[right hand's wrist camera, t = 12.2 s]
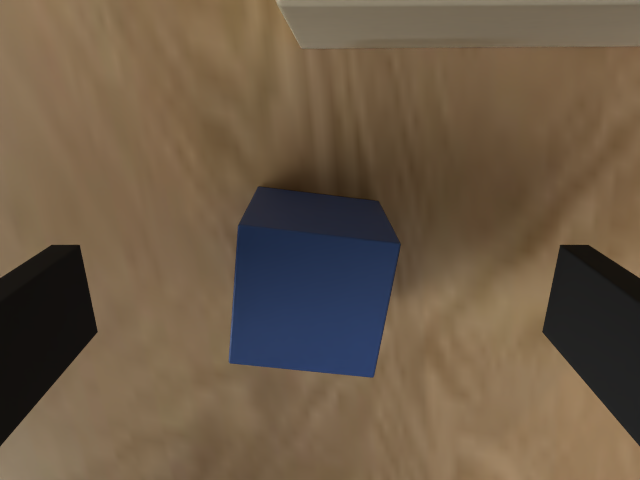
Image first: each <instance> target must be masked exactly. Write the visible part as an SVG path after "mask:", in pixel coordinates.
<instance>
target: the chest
mask: <svg viewBox="0 0 640 480" xmlns="http://www.w3.org/2000/svg"><path fill="white" fill-rule="evenodd" d="M276 3H277V5H278V7H279V9H280V11H281V12H282V14H283V16H284V18H285V20H286V22H287V23H288V25H289V27H290V29H291V31H292V33H293V34H294V36H295V38H296V40H297V42H298V44H299V45H300V47H301V48H302V49H341V48H476V47H611V46H640V0H276Z"/></svg>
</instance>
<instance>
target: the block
mask: <svg viewBox="0 0 640 480" xmlns="http://www.w3.org/2000/svg"><path fill="white" fill-rule="evenodd" d="M400 246H401V244H400V242H399V240H398V238H397V236H396V234H395V232H394V230H393V228H392V226H391V224H390V222H389V220H388V218H387V216H386V214H385V212H384V210H383V209H382V207H381V205H380V203H379V201H373V200H365V199H357V198H349V197H340V196H332V195H324V194H316V193H308V192H299V191H291V190H283V189H275V188H267V187H258V188H257V190H256V192H255V194H254V196H253V198H252V200H251V202H250V203H249V205H248V207H247V209H246V211H245V213H244V215H243V217H242V219H241V221H240V223H239V225H238V234H237V248H236V263H235V278H234V292H233V307H232V322H231V336H230V351H229V363H232V364H242V365H252V366H262V367H272V368H282V369H292V370H302V371H312V372H322V373H332V374H342V375H352V376H362V377H374V374H375V369H376V364H377V359H378V354H379V349H380V344H381V339H382V335H383V330H384V325H385V320H386V315H387V310H388V305H389V300H390V295H391V290H392V285H393V280H394V275H395V271H396V266H397V261H398V256H399V251H400Z"/></svg>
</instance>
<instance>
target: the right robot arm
mask: <svg viewBox="0 0 640 480" xmlns="http://www.w3.org/2000/svg"><path fill="white" fill-rule="evenodd" d="M97 332H98V331H97V327H96V322H95V317H94V312H93V307H92V302H91V297H90V293H89V288H88V283H87V278H86V273H85V268H84V263H83V259H82V254H81V249H80V245H51V246H49V247H48V248H46V249H45V250H43V251H42V252H40V253H39V254H37V255H35V256H34V257H32V258H31V259H29V260H28V261H26V262H25V263H23V264H22V265H20V266H18V267H17V268H15V269H14V270H12V271H11V272H9V273H8V274H6V275H5V276H3V277H2V278H0V446H1V445H2V444H3V442H4V441H5V440H6V439H7V438H8V437H9V435H10V434H11V433H12V432H13V431H14V429H15V428H16V427H17V426H18V425H19V424H20V422H21V421H22V420H23V419H24V418H25V417H26V415H27V414H28V413H29V412H30V411H31V410H32V408H33V407H34V406H35V405H36V404H37V402H38V401H39V400H40V399H41V398H42V397H43V395H44V394H45V393H46V392H47V391H48V390H49V388H50V387H51V386H52V385H53V384H54V383H55V381H56V380H57V379H58V378H59V377H60V376H61V374H62V373H63V372H64V371H65V370H66V368H67V367H68V366H69V365H70V364H71V363H72V361H73V360H74V359H75V358H76V357H77V356H78V354H79V353H80V352H81V351H82V350H83V349H84V347H85V346H86V345H87V344H88V343H89V341H90V340H91V339H92V338H93V337H94V336H95V334H96V333H97ZM542 332H543V333H544V334H545V336H546V337H547V338H548V339H549V340H550V341H551V343H552V344H553V345H554V346H555V347H556V349H557V350H558V351H559V352H560V353H561V354H562V356H563V357H564V358H565V359H566V360H567V361H568V363H569V364H570V365H571V366H572V367H573V368H574V370H575V371H576V372H577V373H578V374H579V376H580V377H581V378H582V379H583V380H584V381H585V383H586V384H587V385H588V386H589V387H590V388H591V390H592V391H593V392H594V393H595V394H596V395H597V397H598V398H599V399H600V400H601V401H602V402H603V404H604V405H605V406H606V407H607V408H608V410H609V411H610V412H611V413H612V414H613V415H614V417H615V418H616V419H617V420H618V421H619V422H620V424H621V425H622V426H623V427H624V428H625V429H626V431H627V432H628V433H629V434H630V435H631V437H632V438H633V439H634V440H635V441H636V442H637V444H638V445H639V446H640V278H638V277H637V276H635V275H634V274H632V273H631V272H629V271H628V270H626V269H625V268H623V267H622V266H620V265H618V264H617V263H615V262H614V261H612V260H611V259H609V258H608V257H606V256H605V255H603V254H601V253H600V252H598V251H597V250H595V249H594V248H592V247H591V246H589V245H560V249H559V254H558V259H557V263H556V268H555V273H554V278H553V283H552V288H551V293H550V297H549V302H548V307H547V312H546V317H545V322H544V327H543V331H542Z"/></svg>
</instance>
